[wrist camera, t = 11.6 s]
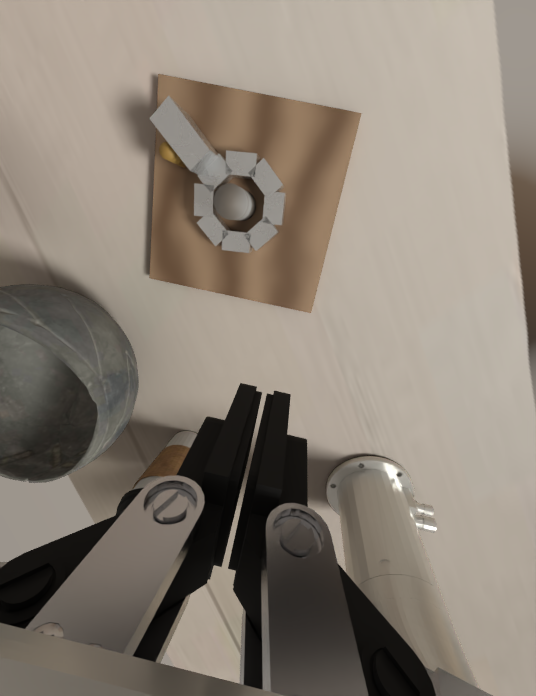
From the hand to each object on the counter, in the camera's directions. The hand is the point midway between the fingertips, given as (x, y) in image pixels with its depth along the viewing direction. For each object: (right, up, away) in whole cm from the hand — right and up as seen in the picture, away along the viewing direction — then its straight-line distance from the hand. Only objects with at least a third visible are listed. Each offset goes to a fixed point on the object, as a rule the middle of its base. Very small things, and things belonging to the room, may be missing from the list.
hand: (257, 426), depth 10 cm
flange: (-4, +20, +23) cm, 30 cm away
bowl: (-24, +2, +34) cm, 41 cm away
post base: (-2, +18, +25) cm, 31 cm away
